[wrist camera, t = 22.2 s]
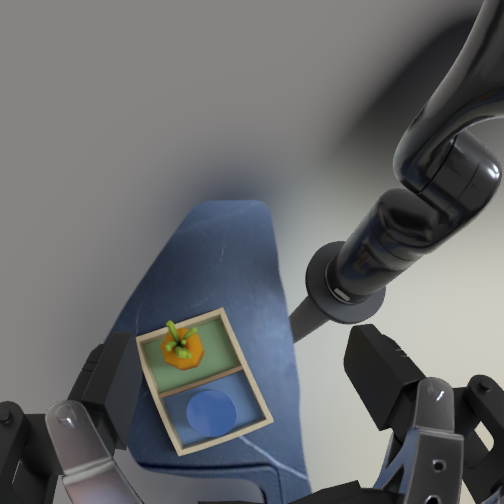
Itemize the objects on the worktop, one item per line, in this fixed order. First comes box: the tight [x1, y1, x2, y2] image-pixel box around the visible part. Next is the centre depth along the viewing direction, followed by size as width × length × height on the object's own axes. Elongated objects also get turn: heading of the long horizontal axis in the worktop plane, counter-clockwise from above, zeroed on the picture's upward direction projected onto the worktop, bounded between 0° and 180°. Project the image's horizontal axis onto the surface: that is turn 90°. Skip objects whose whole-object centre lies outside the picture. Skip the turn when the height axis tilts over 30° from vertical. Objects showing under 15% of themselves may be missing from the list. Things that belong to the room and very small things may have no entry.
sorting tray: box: [136, 307, 274, 456], centre depth 37 cm, size 14×18×3 cm
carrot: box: [160, 320, 204, 371], centre depth 32 cm, size 5×5×15 cm
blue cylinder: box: [186, 390, 237, 437], centre depth 33 cm, size 6×6×7 cm
